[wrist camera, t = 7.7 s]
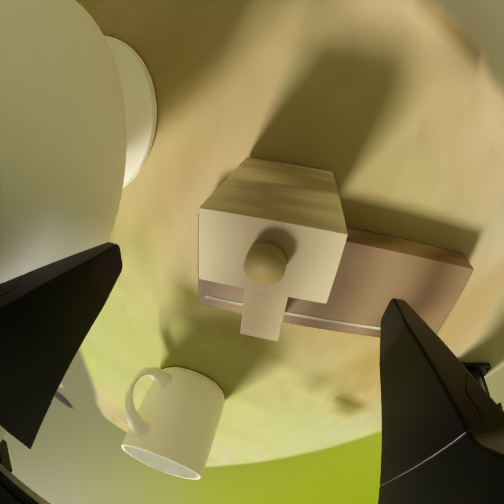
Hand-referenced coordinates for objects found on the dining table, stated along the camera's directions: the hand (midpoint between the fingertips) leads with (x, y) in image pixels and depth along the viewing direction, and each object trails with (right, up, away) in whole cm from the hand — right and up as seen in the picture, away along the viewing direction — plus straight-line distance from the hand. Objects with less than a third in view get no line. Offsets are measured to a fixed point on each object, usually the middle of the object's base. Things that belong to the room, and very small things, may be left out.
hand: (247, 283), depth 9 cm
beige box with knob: (+2, +2, +10) cm, 10 cm away
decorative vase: (-12, +11, +8) cm, 18 cm away
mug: (-8, -13, +22) cm, 27 cm away
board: (+6, -1, +11) cm, 12 cm away
